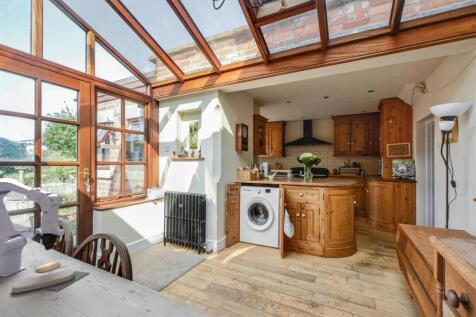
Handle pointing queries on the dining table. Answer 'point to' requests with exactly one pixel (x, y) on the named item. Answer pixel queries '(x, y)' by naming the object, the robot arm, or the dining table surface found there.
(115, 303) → the dining table surface
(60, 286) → the mat
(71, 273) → the beige flat oblong piece
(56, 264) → the coaster
